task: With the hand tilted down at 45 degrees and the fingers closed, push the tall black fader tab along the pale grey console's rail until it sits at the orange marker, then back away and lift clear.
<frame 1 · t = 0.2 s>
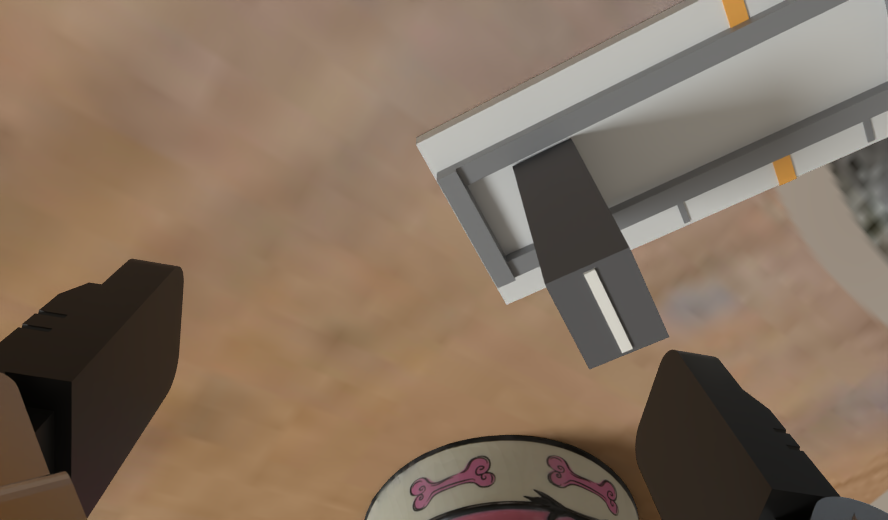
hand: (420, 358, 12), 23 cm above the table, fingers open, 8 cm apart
fader console: (668, 123, 33), on the table
fader tab: (579, 239, 29), point 7 cm above the table, slide at 0.0 cm
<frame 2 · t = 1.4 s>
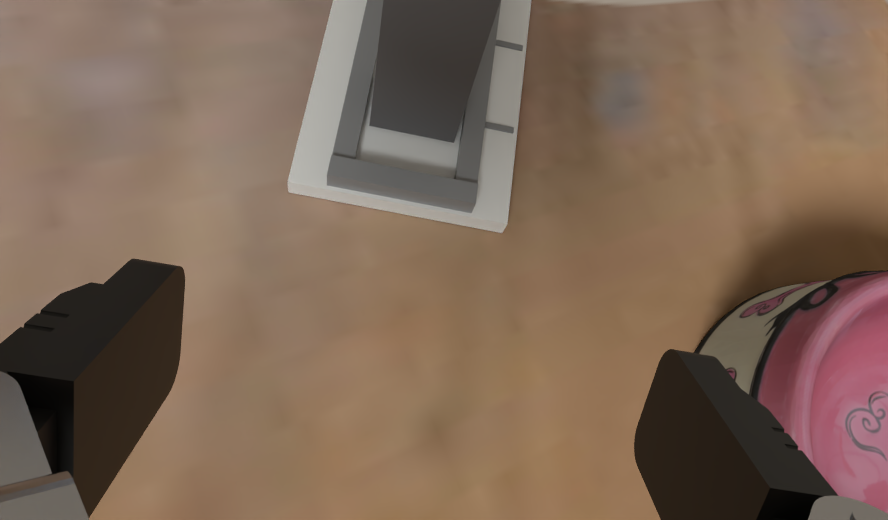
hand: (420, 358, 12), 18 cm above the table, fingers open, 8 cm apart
fader console: (430, 26, 36), on the table
fader tab: (433, 29, 28), point 7 cm above the table, slide at 0.0 cm
dog bowl: (858, 480, 31), on the table
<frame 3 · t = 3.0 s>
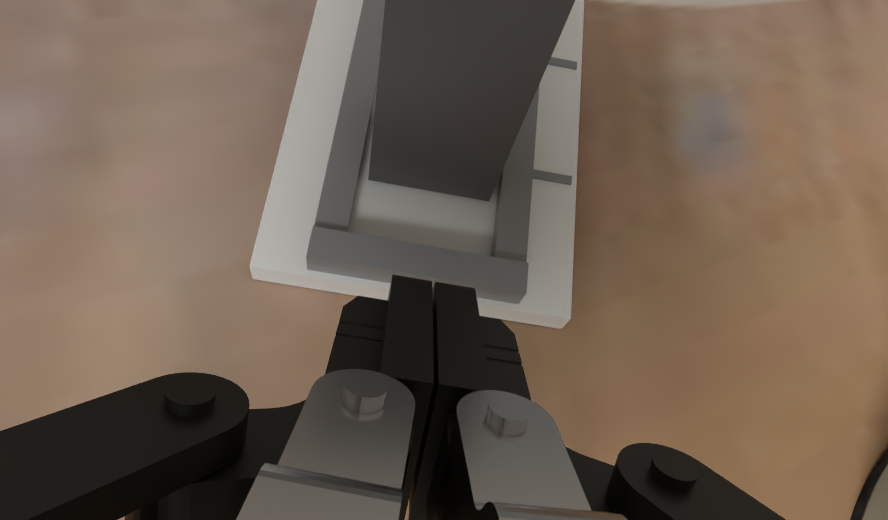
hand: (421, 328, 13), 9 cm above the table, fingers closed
fader console: (448, 39, 27), on the table
fader tab: (462, 38, 18), point 7 cm above the table, slide at 0.0 cm
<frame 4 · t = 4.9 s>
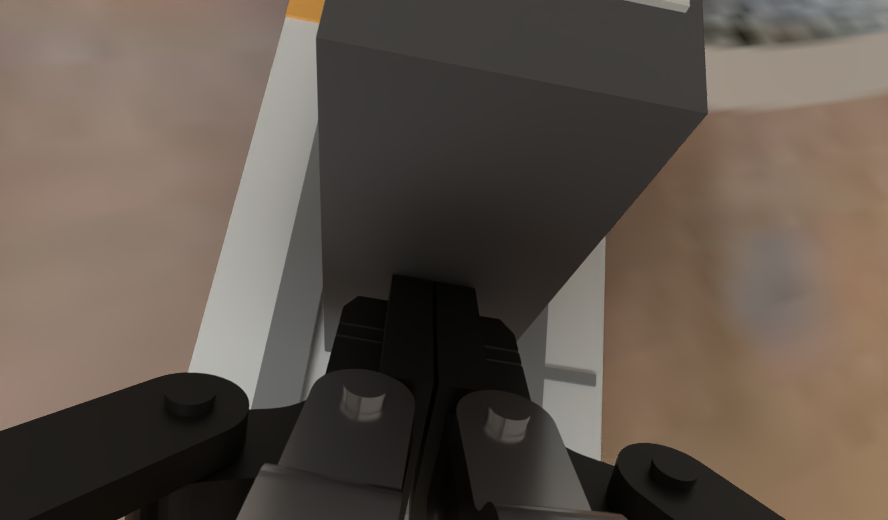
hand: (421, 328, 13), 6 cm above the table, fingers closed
fader console: (432, 166, 21), on the table
fader tab: (449, 202, 13), point 7 cm above the table, slide at 1.1 cm, touching gripper
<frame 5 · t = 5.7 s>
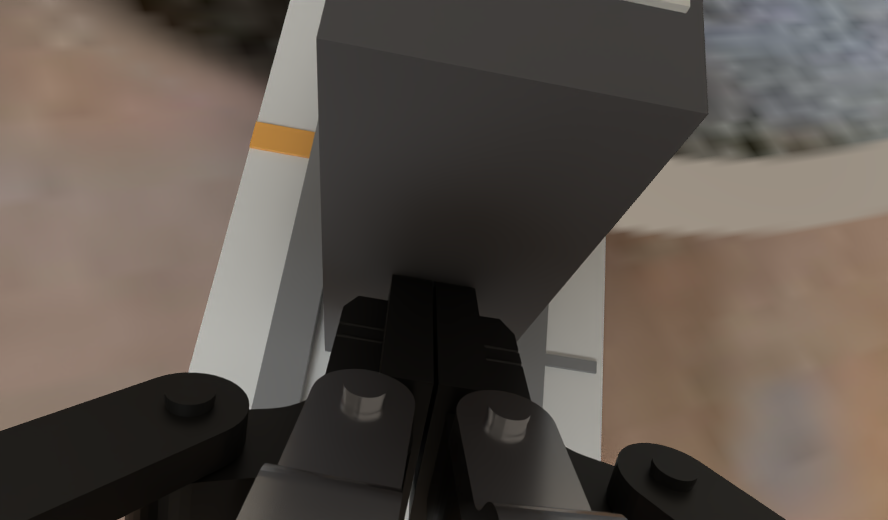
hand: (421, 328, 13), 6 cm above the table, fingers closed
fader console: (410, 314, 19), on the table
fader tab: (449, 202, 13), point 7 cm above the table, slide at 5.8 cm, touching gripper
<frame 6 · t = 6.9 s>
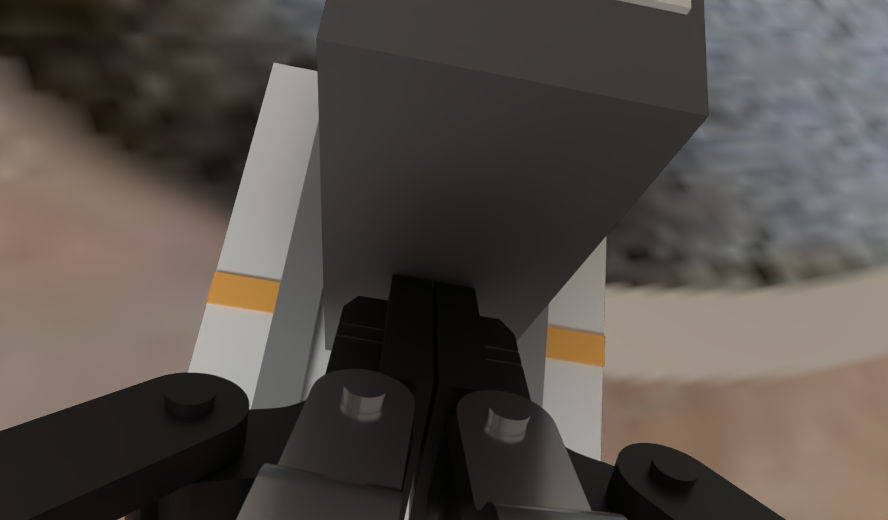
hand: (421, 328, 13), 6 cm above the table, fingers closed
fader console: (384, 489, 17), on the table
fader tab: (449, 202, 12), point 7 cm above the table, slide at 10.3 cm, touching gripper
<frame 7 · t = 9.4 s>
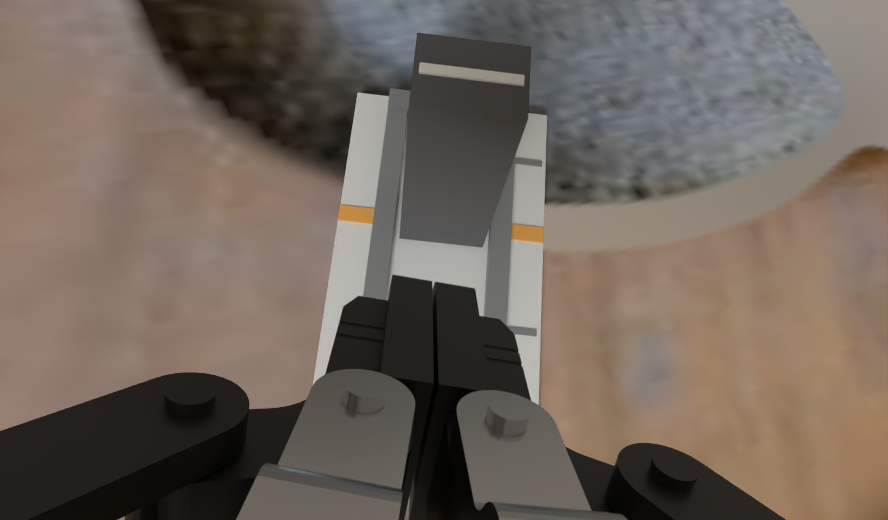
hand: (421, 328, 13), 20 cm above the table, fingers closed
fader console: (433, 308, 33), on the table
fader tab: (455, 156, 29), point 7 cm above the table, slide at 10.4 cm
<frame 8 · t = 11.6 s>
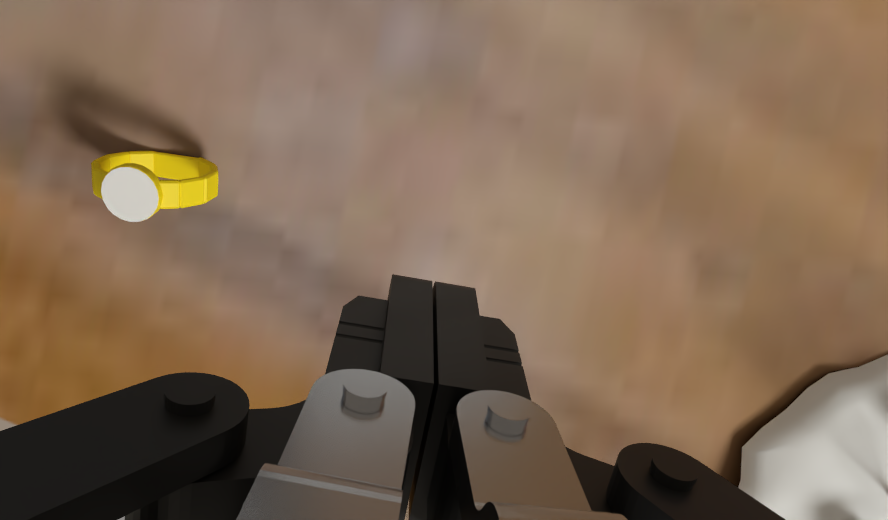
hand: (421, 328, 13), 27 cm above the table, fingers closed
figurine: (864, 471, 48), on the table
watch: (176, 164, 39), on the table
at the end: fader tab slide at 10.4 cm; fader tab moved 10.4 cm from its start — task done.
